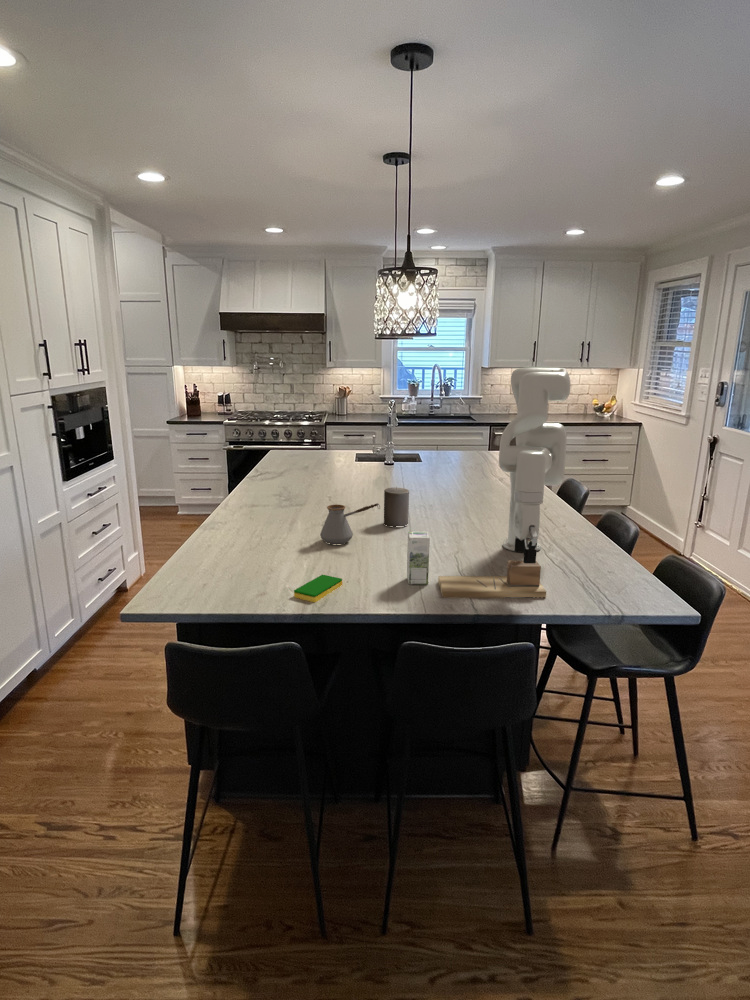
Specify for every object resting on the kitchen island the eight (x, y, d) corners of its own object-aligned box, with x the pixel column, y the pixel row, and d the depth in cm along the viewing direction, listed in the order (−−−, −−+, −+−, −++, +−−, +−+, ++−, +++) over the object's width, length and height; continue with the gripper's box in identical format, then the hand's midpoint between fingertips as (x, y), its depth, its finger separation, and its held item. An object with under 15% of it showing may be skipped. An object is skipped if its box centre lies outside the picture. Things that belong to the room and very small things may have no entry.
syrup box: (426, 577, 170) (427, 530, 167) (428, 585, 164) (429, 536, 161) (406, 577, 170) (407, 530, 166) (408, 585, 164) (409, 537, 161)
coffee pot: (315, 545, 198) (314, 503, 195) (326, 535, 209) (325, 495, 205) (375, 550, 193) (375, 507, 190) (383, 540, 204) (383, 499, 200)
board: (438, 582, 167) (438, 575, 166) (534, 582, 167) (535, 576, 166) (442, 597, 156) (442, 591, 156) (545, 597, 156) (546, 591, 156)
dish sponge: (293, 598, 156) (293, 590, 156) (322, 581, 168) (322, 574, 167) (315, 603, 153) (314, 595, 152) (343, 586, 165) (342, 578, 164)
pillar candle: (379, 525, 222) (379, 487, 218) (390, 519, 230) (391, 482, 226) (402, 529, 217) (403, 491, 213) (412, 523, 226) (413, 485, 222)
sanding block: (506, 580, 163) (507, 560, 162) (534, 580, 163) (536, 560, 162) (510, 586, 159) (511, 566, 157) (539, 586, 159) (540, 566, 157)
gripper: (507, 490, 163) (504, 547, 167) (523, 503, 146) (518, 567, 150) (534, 490, 163) (530, 548, 167) (552, 504, 146) (547, 567, 150)
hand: (524, 557), depth 158 cm, fingers open, 9 cm apart
